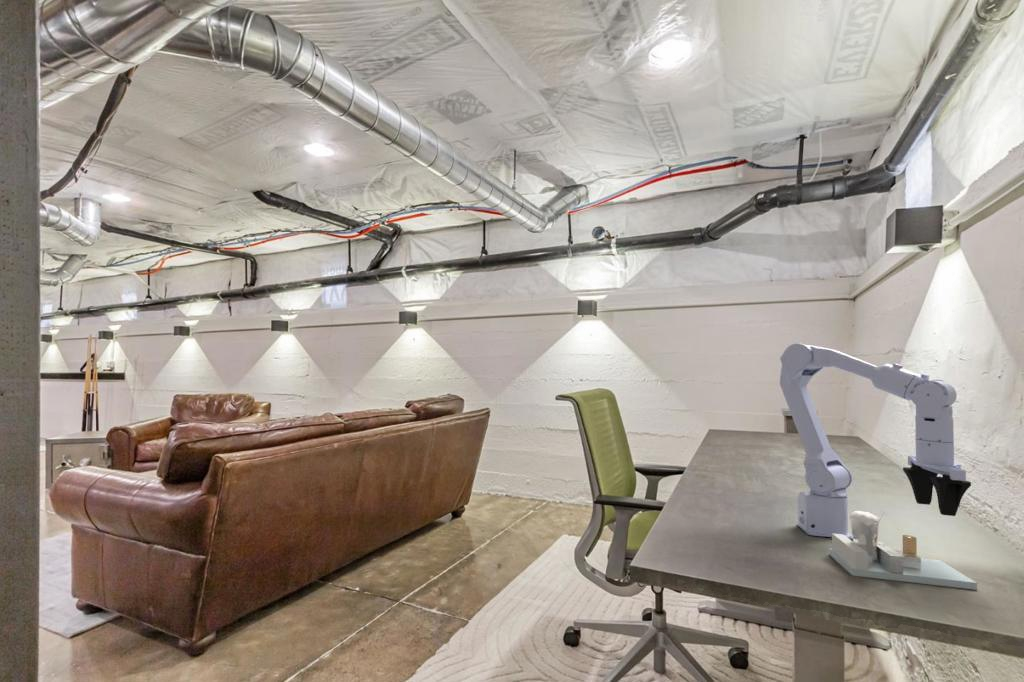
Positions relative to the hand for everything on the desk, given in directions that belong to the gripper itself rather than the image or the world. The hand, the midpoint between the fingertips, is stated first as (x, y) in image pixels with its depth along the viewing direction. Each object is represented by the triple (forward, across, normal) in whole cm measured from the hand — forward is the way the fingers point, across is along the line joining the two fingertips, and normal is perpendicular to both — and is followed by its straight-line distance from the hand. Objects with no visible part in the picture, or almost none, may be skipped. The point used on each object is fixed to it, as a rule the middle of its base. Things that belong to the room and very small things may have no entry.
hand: (935, 509), depth 94 cm
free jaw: (+9, -7, +10) cm, 15 cm away
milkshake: (+9, -7, +15) cm, 19 cm away
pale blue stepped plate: (+10, -7, +10) cm, 16 cm away
